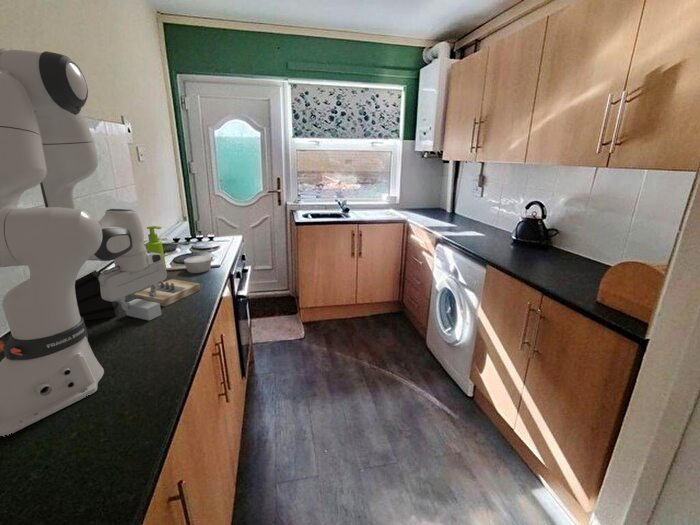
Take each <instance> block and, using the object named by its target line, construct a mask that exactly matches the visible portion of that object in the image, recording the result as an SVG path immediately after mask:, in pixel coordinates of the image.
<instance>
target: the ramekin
mask: <svg viewBox="0 0 700 525" xmlns="http://www.w3.org/2000/svg"><path fill="white" fill-rule="evenodd" d="M183 263H184V265H185V268H186V271H187V272H188V273H190V274H201V273H205V272H209V271H210V270H211V267H212V257H211V256H210V255H194V256H189V257H187V258H185V259H183Z"/></svg>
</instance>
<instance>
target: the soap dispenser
mask: <svg viewBox="0 0 700 525" xmlns="http://www.w3.org/2000/svg"><path fill="white" fill-rule="evenodd" d="M162 228H163V227H161V226H158V225H155V226H154V225H152V226H147V227H146V229H147V230H148V231H149V234H148V235H147V238H148V242H145V243H146V244H145V247H146V249H147V252H153V253H159V254H162V255H163V260H162V261H163V262H164V263H165V267H166V268H167V265H166V260H165V253H164V252H165V251H164V246H163V241H160V240H159V238H158V233H155V230H160V229H162Z"/></svg>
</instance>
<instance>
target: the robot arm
mask: <svg viewBox="0 0 700 525" xmlns="http://www.w3.org/2000/svg"><path fill="white" fill-rule="evenodd" d="M88 95H89V90H88V84H87V81H86V78H85V75H84V74H83V72H82V70H81V68H80V67H79V66H78V65H77V63H75V61H73V59H71V58H70V57H69V56H66V55H64V54H61V53H57V52H52V51H43V52H42V51H41V52H40V51H35V50H34V51H33V50H23V49H11V48H5V47H4V48H2V47H1V48H0V268H9V267H18V266H19V267H21V266H25V267H26V266H27V267H28V269H29V274H30V275H29V278H28V279H26V280H23V281H22V282H19V284H17V285H15V286H13V287H12V288H10V289H9V290H8V291H7V292H6V293H5V295H4V296H3V299H2V304H1V308H2V310H3V312H4V316H5V318H6V322H7V325H8V327H9V330H10V336H9V338H8V339H7V341H6V342H5V341H2V340H0V353H2V352H3V353H4V356H5V357H4V358H3V359H1V361H0V436H3V437H6V436H5V435H7V436H9V434H10V435H11V433H12V434H14V433H16V432H18V431H20V430H22V429H24V428H26V427H28V426H30V425H32V424H34V423H36V422H38V421H40V420H43V419H45V418H46V417H49V416H50V415H53V414H54V413H56V412H58V411H60V410H62V409H65V408H66V407H68V406H70V405H72V404H74V403H77V402H78V401H81V400H82V399H84V398H85V399H86V398H87V397H89V396H90V395H92V394H94V393H95V392H97V390H98V386H99V385H98V384H99V382H100V380H102V378H103V376H104V374H105V370H104V368H103V367H102V365H101V364H100V362H99V361H98V359H97V358H96V356H95V353H94V351H93V350H92V348H91V345H90V342H89V341H88V339H89V337H88V336H89V335H88V330H87V327H86V324H85V320H83V318H82V317H81V316H80V313H79V309H78V305H77V300H76V293H75V281H76V280H77V277H78V274H79V272H80V269H81V268H82V267H83V266H84V265H85V263H86V262H87V261H92V262H93V261H96V262H98V261H99V262H111V261H113V262H114V263H113V264H114V266H113V267H111V268H107V269H104V270H103V271H102V272H100V273H101V274H100V276H99V282H100V291H101V297H102V299H104V300H106V301H111V302H113V301H116V302H118V304H120V305H121V308H122V310H123V311H125V310H127V309H129V308H131V306H130V303H127V302H126V297H127V296H129V295H132V294H135V293H137V292H140V291H142V290H145V289H147V288H150V287H151V290H150V292H148V294H149V297H152V298H153V297H155V296H157V294H156V291H157V288H158V284H159V283H160V281H163V282H164V281H165V280H166V279H167V276H168V273H167V271H168V270H167V271H166V269H167V266H166V267H165V263H166V262H165V263H164V262H163V261H162V260H163V255H162V254H159V253H153V252H148V251H147V246H146V244H145V242H144V238H145V235H144V230H143V225H142V221H141V218H140V216H139V215H138V213H137V212H136V211H135V210H132V209H129V208H128V209H126V208H109V209H107V210H105V212H104V215H103V217H102V218H101V219H99V220H97V219H96V217H95V216H94V215H93V214H91V213H90V212H88V211H87V210H84V209H79V208H78V209H77V208H76V205H75V199H74V196H73V194H74V188H75V186H77V184H79V183H81V181H84V180H86V179H88V178H89V177H91V175H93V174H94V173H95V171H96V169H97V168H98V165H99V157H98V151H97V148H96V145H95V142H94V138H93V135H92V133H91V130H90V127H89V125H88V123H87V121H86V118H85V116H84V114H83V111H82V108H83V107H84V106H85V105H86V103H87V100H88V97H89V96H88ZM39 185H40V186H39ZM37 186H39V187H40V190H41V193H42V195H41V196H42V198H43V203H44V206H45V207H26V208H21V207H20V208H18V203H19V202H18V201H19V199H20V197H21V196H22V195H23V194H24V192H26V191H27V190H30V189H32V188H35V187H37ZM88 395H89V396H88ZM86 396H87V397H86Z"/></svg>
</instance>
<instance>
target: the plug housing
mask: <svg viewBox="0 0 700 525" xmlns="http://www.w3.org/2000/svg"><path fill="white" fill-rule="evenodd" d="M127 303H130V306H131V308H129V309H127V310H124V311H125V315H126V316H129V317H132V318H135V319H141V320H145V321H149V322H150V321H151V320H154V319H155V318H158V317H160V316H161V315H162V310H161V308H162V307H161V306H160V303H156V302H151V301H146V300H142V299H135V298H134V299H132V300H130V301H128V302H127Z"/></svg>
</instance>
